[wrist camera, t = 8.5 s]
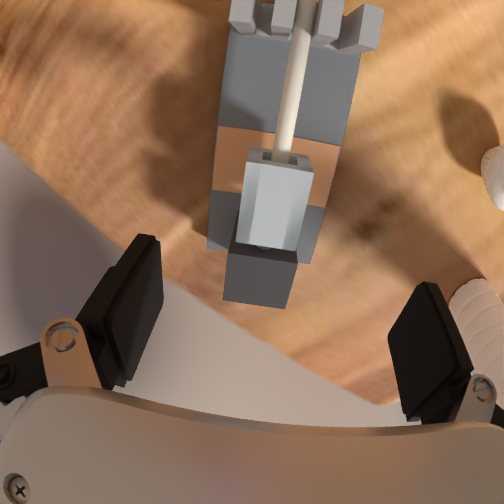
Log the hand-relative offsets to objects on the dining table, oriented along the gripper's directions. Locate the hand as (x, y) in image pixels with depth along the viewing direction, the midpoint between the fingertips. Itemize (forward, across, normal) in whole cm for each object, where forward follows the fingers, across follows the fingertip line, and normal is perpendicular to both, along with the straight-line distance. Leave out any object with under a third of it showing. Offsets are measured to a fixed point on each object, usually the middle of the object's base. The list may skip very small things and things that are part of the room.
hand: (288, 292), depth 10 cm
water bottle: (+16, -26, +11) cm, 32 cm away
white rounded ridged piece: (+16, -19, -5) cm, 25 cm away
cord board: (+15, +1, -2) cm, 15 cm away
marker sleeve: (+11, +1, +1) cm, 11 cm away
